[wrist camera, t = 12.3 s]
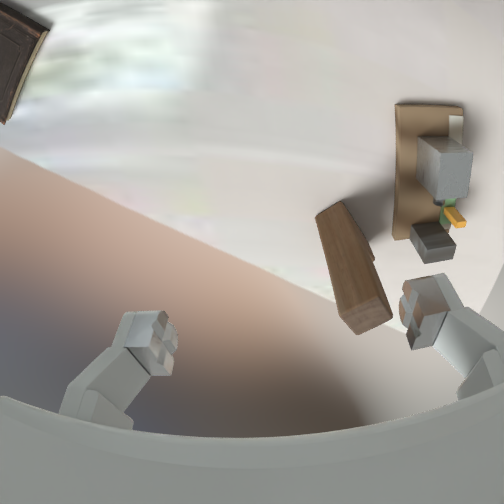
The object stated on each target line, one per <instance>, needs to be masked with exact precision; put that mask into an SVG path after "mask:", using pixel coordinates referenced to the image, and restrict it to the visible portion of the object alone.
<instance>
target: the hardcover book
mask: <svg viewBox="0 0 504 504" xmlns="http://www.w3.org/2000/svg"><path fill="white" fill-rule="evenodd" d="M48 31H50V30H49V29H47V28H45V27H44V26H42V25H40V24H39V23H37V22H35V21H33V20H32V19H30V18H28V17H26V16H24V15H23V14H21V13H19V12H17V11H15V10H13V9H12V8H10V7H8V6H6V5H4V4H2V3H0V122H1V123H2V124H4V125H5V123H6V121H7V120H9V119H10V118H11V115H12V112H13V109H14V107H15V104H16V101H17V98H18V96H19V93H20V90H21V88H22V85H23V83H24V80H25V78H26V76H27V73H28V71H29V69H30V66H31V64H32V62H33V60H34V58H35V56H36V54H37V52H38V50H39V48H40V46H41V44H42V42H43V40H44V38H45V36H46V34H47V32H48Z"/></svg>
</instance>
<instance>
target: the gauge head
mask: <svg viewBox="0 0 504 504" xmlns="http://www.w3.org/2000/svg"><path fill="white" fill-rule="evenodd" d="M472 160H473V152H472V151H470V150H469V149H467V148H466V147H464V146H463V145H461V144H460V143H458V142H457V141H455V140H454V139H452V138H450V137H449V136H418V145H417V170H416V179H417V180H418V181H419V182H420V183H421V184H422V185H423V186H424V188H425V189H426V190H427V191H428V192H429V193H430V194H431V195H432V196H433V204H434V205H436V206H444V205H445V200H446V199H454V198H464V197H467V195H468V189H469V183H470V176H471V168H472Z"/></svg>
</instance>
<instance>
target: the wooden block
mask: <svg viewBox="0 0 504 504" xmlns="http://www.w3.org/2000/svg"><path fill="white" fill-rule="evenodd" d="M315 220H316V223H317V227H318V231H319V235H320V239H321V242H322V246H323V250H324V254H325V258H326V261H327V265H328V270H329V274H330V278H331V282H332V286H333V291H334V295H335V299H336V304H337V308H338V313H339V316H340V317H341V318H342V320H343V321H344V322H345V323H346V324H347V325H348V326H349V328H350V329H351V330H352V331H353V332H354V333H355V334H356V335H360V334H362V333H364V332H366V331H368V330H370V329H373V328H375V327H377V326H379V325H381V324H383V323H385V322H387V321H389V320H391V319H392V318H393V313H392V311H391V308H390V305H389V302H388V300H387V297H386V294H385V292H384V289H383V287H382V284H381V281H380V279H379V276H378V274H377V271H376V269H375V266H374V264H373V261H374V260H375V257H374V255H373V253H372V250H371V248H370V246H369V244H368V241H367V240H366V238H365V237H364V235H363V233H362V232H361V230H360V229H359V227H358V225H357V224H356V222H355V221H354V219H353V218H352V216H351V215H350V213H349V212H348V210H347V209H346V207H345V206H344V204H343V203H342V202H341V201H340V202H338V203H336V204H335V205H333V206H331V207H330V208H328V209H326V210H325V211H323V212H322V213H320V214H318V215H317V216H316V217H315Z"/></svg>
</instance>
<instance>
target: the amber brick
mask: <svg viewBox="0 0 504 504" xmlns="http://www.w3.org/2000/svg"><path fill="white" fill-rule="evenodd" d="M444 215H445V216H446V217H447V218H448V219H449V221H450V222H451V223H452V224H453V226H454V227H455V228H462V227H465V226H466V222H467V221H466V220H465V219H464V218H463V216H462V215H461V214H460V213H459V212H458V211H457V210H456V209H455V207H444Z"/></svg>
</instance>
